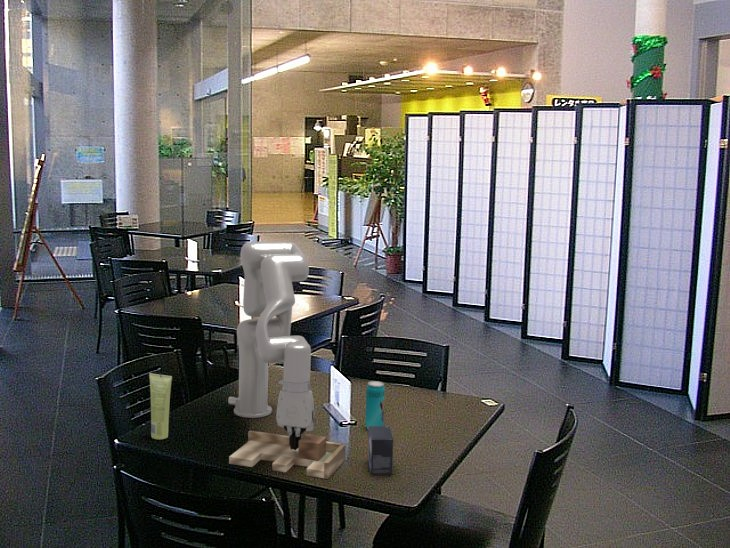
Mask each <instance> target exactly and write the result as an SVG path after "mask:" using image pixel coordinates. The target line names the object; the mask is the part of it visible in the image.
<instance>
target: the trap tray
mask: <svg viewBox="0 0 730 548" xmlns="http://www.w3.org/2000/svg"><path fill="white" fill-rule="evenodd" d="M247 436H248V438H247V442H246V443H244V444H243V445H242V446H241V447H240V448H238V449H237V450H236V451H234V452H233V453H232V454H230V455H229V456H228V464H229V465H235V466H236V465H237V466H241V467H242V466H243V467H249V468H253V467H254V466H255V465H256V464H257V463H259V462H260V461H261V460H262V461H269V462H272V464H271V465H272V467H271V468H272V471H274V472H281V473H287V472H288V471H289V470H290V469H291V468H292V467H293V466H294V465H295V466H302V467H307V468H306V475H305V476H306V477H313V478H318V479H319V478H321V479H326V480H328V479H330V478H331V476H332V475H333V474H334V473H335V472H336V470H338V468H339V467H340V466H341V465H342V463H344V461H345V460H346V452H347V451H346V448H347V444H346V443H339V442H333V441H327V440H326V454H325V455H324V456H323V457H322V458H321V459H320V460H319V461H314V460H308V459H303V458H298V449H299V448H298V449H297V450H294V449H290V445H289V435H283V434H278V433H277V434H276V433H272V432H271V433H270V432H264V431H258V430H257V431H256V430H248V432H247Z"/></svg>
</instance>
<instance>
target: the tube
mask: <svg viewBox="0 0 730 548" xmlns="http://www.w3.org/2000/svg"><path fill="white" fill-rule="evenodd" d="M148 376H149V390H150V391H149V392H150V424H151V425H150V426H151V427H150V436H151V438H152V439H154V440H164V439H167V438H168V437H169V420H170V419H169V418H170V402H171V401H170V399H171V390H172V389H171V388H172V381H173V376H172V375H166V374H165V375H164V374H157V373H150V372H149V374H148Z"/></svg>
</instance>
